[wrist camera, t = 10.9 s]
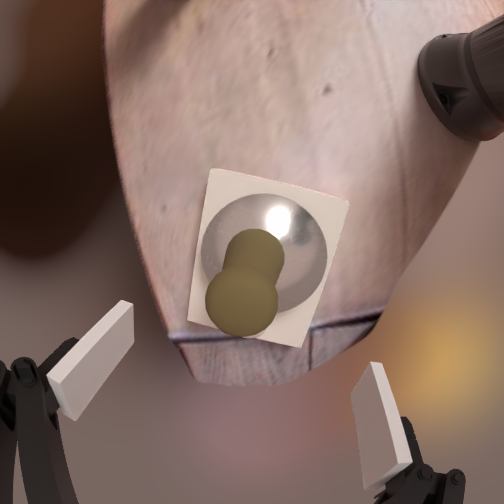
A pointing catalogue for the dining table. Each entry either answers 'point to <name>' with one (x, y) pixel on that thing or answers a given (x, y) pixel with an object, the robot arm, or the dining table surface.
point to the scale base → (317, 203)
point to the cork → (246, 284)
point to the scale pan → (284, 229)
